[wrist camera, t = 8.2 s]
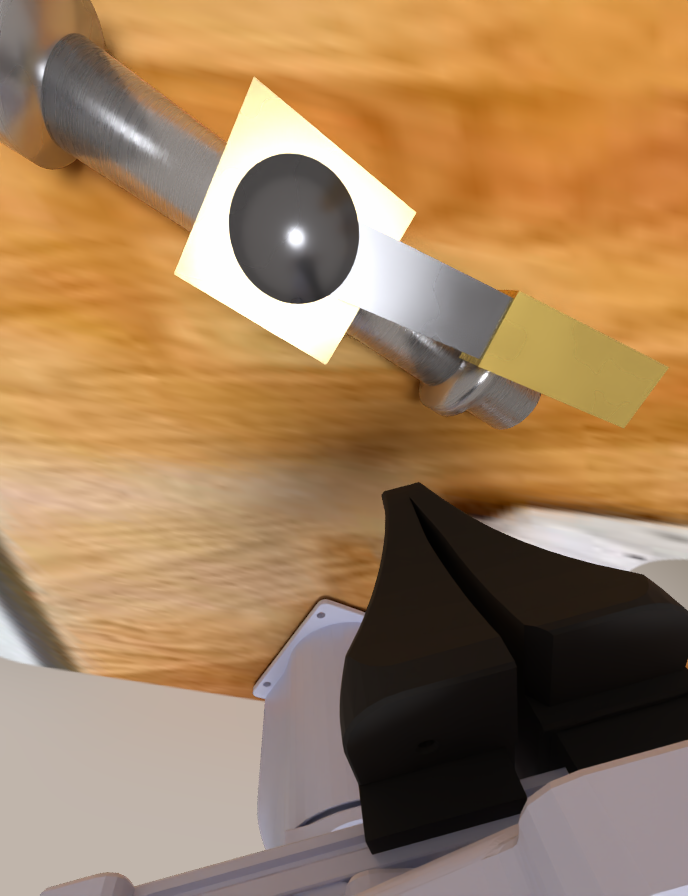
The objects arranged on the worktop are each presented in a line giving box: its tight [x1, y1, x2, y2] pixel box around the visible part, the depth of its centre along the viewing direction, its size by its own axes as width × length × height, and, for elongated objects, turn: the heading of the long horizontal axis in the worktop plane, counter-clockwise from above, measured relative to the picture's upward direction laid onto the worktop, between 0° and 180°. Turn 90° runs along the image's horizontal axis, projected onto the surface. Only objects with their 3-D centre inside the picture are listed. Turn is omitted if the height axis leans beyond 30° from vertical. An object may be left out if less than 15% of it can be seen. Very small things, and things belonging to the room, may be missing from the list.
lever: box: [228, 153, 669, 428], centre depth 10 cm, size 14×3×2 cm, turn 68°
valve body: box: [0, 0, 541, 429], centre depth 12 cm, size 5×22×4 cm, turn 58°
